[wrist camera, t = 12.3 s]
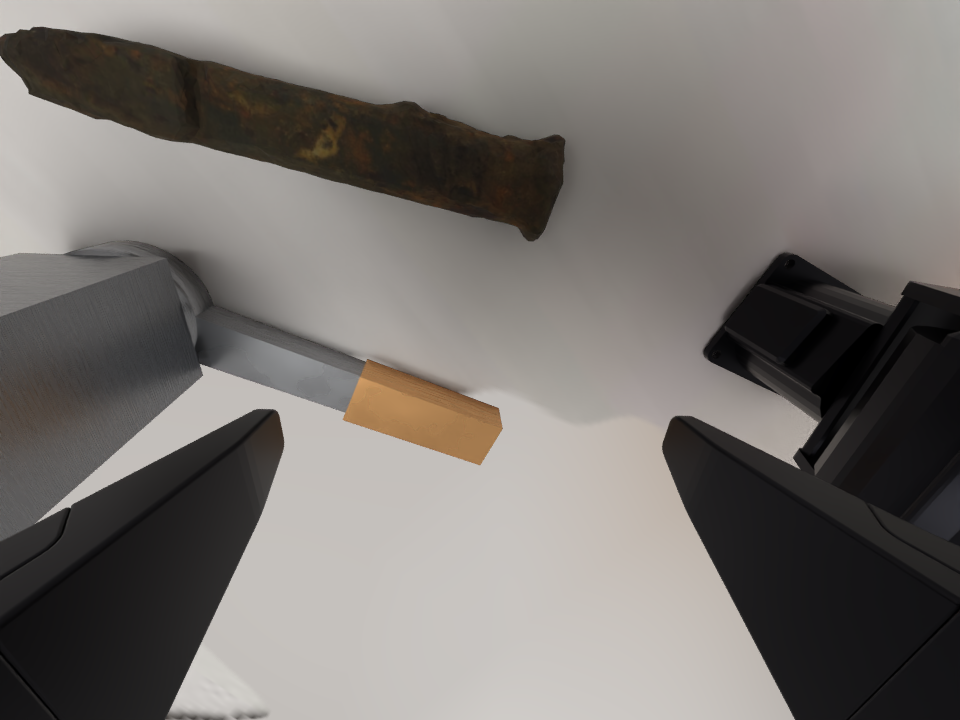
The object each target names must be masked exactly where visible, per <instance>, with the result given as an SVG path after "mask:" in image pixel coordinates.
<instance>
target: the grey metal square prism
mask: <svg viewBox="0 0 960 720" xmlns="http://www.w3.org/2000/svg"><path fill="white" fill-rule="evenodd" d="M202 376H203V374H202V371H201V367H200V364H199V361H198V358H197V354H196V351H195V348H194V345H193V341H192V338H191V335H190V331H189V328H188V325H187V322H186V318H185V315H184V312H183V309H182V305H181V302H180V299H179V296H178V292H177V289H176V286H175V283H174V279H173V276H172V273H171V270H170V266H169V263H168V260H167V258H158V257H127V256H95V255H64V254H33V253H18V254H14V255H9V256H5V257H0V541H2V540H4V539H6V538H8V537H10V536H12V535H14V534H16V533H18V532H20V531H22V530H24V529H26V528H28V527H30V526H32V525H34V524H35V523H36V522H37V521H38V520H39V519H40V518H42V517H43V516H44V515H45V514H46V513H47V512H48V511H50V510H51V509H52V508H53V507H54V506H55V505H56V504H58V503H59V502H60V501H61V500H62V499H63V498H64V497H65V496H67V495H68V494H69V493H70V492H71V491H72V490H73V489H75V488H76V487H77V486H78V485H79V484H80V483H81V482H82V481H84V480H85V479H86V478H87V477H88V476H89V475H90V474H92V473H93V472H94V471H95V470H96V469H97V468H98V467H100V466H101V465H102V464H103V463H104V462H105V461H106V460H107V459H109V458H110V457H111V456H112V455H113V454H114V453H115V452H117V451H118V450H119V449H120V448H121V447H122V446H123V445H124V444H126V443H127V442H128V441H129V440H130V439H131V438H132V437H134V436H135V435H136V434H137V433H138V432H139V431H140V430H142V429H143V428H144V427H145V426H146V425H147V424H148V423H149V422H151V420H153V419H154V418H155V417H156V416H157V415H159V414H160V413H161V412H162V411H163V410H164V409H165V408H167V407H168V406H169V405H170V404H171V403H172V402H173V401H174V400H175V399H177V398H178V397H179V396H180V395H181V394H182V393H183V392H185V391H186V390H187V389H188V388H189V387H190V386H191V385H193V384H194V383H195V382H196V381H197V380H198V379H199V378H201V377H202Z"/></svg>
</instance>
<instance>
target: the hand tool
mask: <svg viewBox="0 0 960 720" xmlns="http://www.w3.org/2000/svg"><path fill="white" fill-rule="evenodd" d="M0 56H1V58H2V59H3V60H4V62H5V63H6V64H7V65H8V66H9V67H10V68H11V69H12V70H14V71H15V72H16V73H17V74H18V75H19V76H20V77H21V78H22V80H23V82H24V83H25V85H26V87H27V88H28V91H29V94H30V95H33V96H35V97H38V98H41V99H44V100H47V101H50V102H52V103H55V104H58V105H60V106H63V107H66V108H69V109H72V110H75V111H77V112H80V113H82V114H84V115H87V116H89V117H92V118H94V119H106V120H111V121H114V122H116V123H119V124H121V125H124V126H126V127H131V128H134V129H136V130H138V131H141V132H143V133H145V134H148V135H150V136H153V137H155V138H160V139H164V140H168V141H174V142H186V143H195V144H198V145H202V146H205V147H209V148H211V149H214V150H218V151H222V152H226V153H231V154H235V155H239V156H243V157H248V158H251V159H255V160H259V161H263V162H269V163H273V164H276V165H279V166H282V167H285V168H288V169H292V170H296V171H300V172H305V173H308V174H311V175H314V176H317V177H320V178H324V179H327V180H331V181H335V182H340V183H345V184H349V185H352V186H356V187H359V188H362V189H366V190H371V191H375V192H379V193H383V194H388V195H391V196H395V197H399V198H403V199H406V200H410V201H414V202H417V203H421V204H424V205H429V206H433V207H438V208H442V209H446V210H450V211H453V212H457V213H461V214H464V215H468V216H471V217H480V218H485V219H489V220H493V221H498V222H503V223H507V224H511V225H514V226H516V227H518V228H519V230H520V232H521V233H522V235H523V237H524V238H525V239H526V240H528V241H534V240H536V239H538V238H539V236H540V235H541V234H542V233H543V231H544V230H545V227H546V224H547V222H548V219H549V217H550V214H551V211H552V209H553V206H554V204H555V201H556V198H557V196H558V194H559V191H560V189H561V187H562V185H563V164H564V161H565V160H564V146H565V141H566V140H565V139H564V138H562V137H561V136H560V135H552V136H549V137H546V138H543V139H540V140H533V141H531V140H522V139H520V138H517V137H515V136H511V135H507V136H504V137H499V136H496V135H491V134H489V133H486V132H483V131H479V130H476V129H475V128H472V127H470V126H468V125H466V124H463V123H461V122H458V121H454V120H449V119H447V118H446V116H443V115H440V114H434V113H431V112H430V113H429V112H427V111H425V110H424V109H422V108H421V107H420V106H418V105H417V104H416V103H415V102H407V101H403V102H398V103H394V104H384V105H375V104H371V103H366V102H362V101H359V100H356V99H352V98H348V97H345V96H340V95H335V94H332V93H328V92H325V91H321V90H317V89H312V88H307V87H303V86H298V85H294V84H290V83H286V82H283V81H280V80H277V79H271V78H266V77H263V76H259V75H254V74H250V73H247V72H243V71H240V70H237V69H235V68H232V67H228V66H225V65H222V64H218V63H215V62H211V61H198V60H193V59H190V58H187V57H184V56H181V55H178V54H176V53H173V52H170V51H167V50H164V49H161V48H158V47H155V46H152V45H147V44H142V43H139V42H132V41H128V40H124V39H120V38H116V37H111V36H106V35H101V34H96V33H81V32H75V31H69V30H63V29H52V28H46V27H33V28H32V29H30V30H21V29H20V30H19V31H18V32H16V33H9V34H4V35H3V36H2V37H0Z"/></svg>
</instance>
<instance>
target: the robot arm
mask: <svg viewBox="0 0 960 720" xmlns="http://www.w3.org/2000/svg"><path fill="white" fill-rule="evenodd" d="M788 260H789V263H788V265H786V266H785V263H786V262H787V261H788ZM901 294H902V295H904V296H903V297H902V299H901V300H900V302H899V303H898V305H897V306H896V307H894V306H891V305H888V304H885V303H882V302H879V301H876V300H874V299H871V298H868V297H865V296H863V295H861V294H860V293H858V292H856V291H855V290H853V289H851V288H850V287H848V286H846V285H845V284H843V283H842V282H840V281H838V280H837V279H835V278H833V277H832V276H830V275H829V274H827V273H825V272H824V271H822V270H820V269H819V268H817V267H815V266H814V265H812V264H811V263H809V262H807V261H806V260H804V259H802V258H801V257H799V256H798V255H795V254H791V253H783V254H782V255H780V256H779V257H778V258H777V259H776V260H775V261H774V263H773V264H772V265H771V266H770V268H769V269H768V270H767V271H766V273H765V274H764V275H763V276H762V278H761V279H760V280H759V282H758V283H757V284H756V285H755V287H754V288H753V289H752V290H751V292H750V293H749V294H748V295H747V297H746V298H745V299H744V300H743V302H742V303H741V304H740V306H739V307H738V308H737V309H736V311H735V312H734V313H733V314H732V316H731V317H730V318H729V319H728V321H727V322H726V323H725V324H724V326H723V327H722V328H721V329H720V331H719V332H718V333H717V335H716V336H715V337H714V338H713V340H712V341H711V342H710V343H709V345H708V346H707V347H706V349H705V350H704V357H705V358H706V359H708V360H709V361H710V362H712V363H714V364H716V365H718V366H720V367H722V368H724V369H727V370H729V371H731V372H733V373H735V374H737V375H739V376H741V377H743V378H745V379H747V380H750V381H752V382H754V383H756V384H758V385H760V386H762V387H764V388H766V389H768V390H770V391H773V392H775V393H777V394H779V395H781V396H783V397H784V398H785V399H787V400H788V401H790V402H791V403H792V404H794V405H795V406H797V407H798V408H799V409H801V410H802V411H803V412H805V413H806V414H808V415H809V416H810V417H812V418H813V419H815V420H816V421H817V422H819V424H818V425H817V427H816V428H815V430H814V431H813V433H812V434H811V436H810V437H809V439H808V440H807V442H806V443H805V445H804V446H803V448H799V449H798V451H797V452H796V454H795V455H794V457H793V459H794V460H795V462H796V463H797V465H798V466H799V468H800V469H801V470H800V469H798V468H796V467H794V466H792V465H790V464H788V463H786V462H784V461H782V460H780V459H778V458H776V457H774V456H772V455H770V454H768V453H766V452H764V451H762V450H760V449H758V448H756V447H753V446H751V445H749V444H747V443H745V442H743V441H741V440H739V439H737V438H735V437H733V436H731V435H729V434H727V433H725V432H723V431H721V430H719V429H717V428H715V427H713V426H711V425H709V424H707V423H705V422H703V421H701V420H699V419H696V418H694V417H692V416H675V417H673V418H672V419H671V421H670V423H669V426H668V429H667V432H666V435H665V438H664V441H663V446H662V450H663V454H664V457H665V460H666V462H667V465H668V467H669V470H670V472H671V475H672V477H673V480H674V482H675V485H676V487H677V490H678V492H679V495H680V497H681V500H682V502H683V504H684V507H685V509H686V511H687V513H688V515H689V517H690V519H691V521H692V523H693V525H694V527H695V529H696V531H697V533H698V535H699V536H700V539H701V541H702V542H703V544H704V546H705V548H706V550H707V552H708V554H709V556H710V558H711V560H712V562H713V563H714V565H715V567H716V569H717V571H718V573H719V575H720V577H721V579H722V581H723V582H724V585H725V586H726V588H727V590H728V592H729V594H730V596H731V598H732V600H733V602H734V604H735V606H736V607H737V609H738V611H739V613H740V615H741V617H742V619H743V621H744V623H745V625H746V627H747V629H748V631H749V632H750V634H751V636H752V638H753V640H754V642H755V644H756V646H757V648H758V650H759V651H760V653H761V655H762V657H763V659H764V661H765V663H766V665H767V667H768V669H769V671H770V673H771V675H772V676H773V678H774V680H775V682H776V684H777V686H778V688H779V690H780V692H781V694H782V696H783V698H784V699H785V701H786V703H787V705H788V707H789V709H790V711H791V713H792V715H793V717H794V719H795V720H960V289H955V288H949V287H943V286H937V285H931V284H925V283H920V282H914V281H909V283H908V284H907V286H906V287H905V289H904V290H903V292H902V293H901ZM715 351H717V352H716V353H715V354H714V355H712V354H713V353H714V352H715ZM283 449H284V437H283V432H282V427H281V422H280V417H279V414H278V412H277V411H276V410H273V409H256V410H253V411H252V412H250V413H248V414H246V415H244V416H242V417H240V418H238V419H236V420H234V421H232V422H231V423H229V424H227V425H225V426H223V427H221V428H219V429H217V430H215V431H213V432H211V433H209V434H207V435H205V436H204V437H201V438H200V439H198V440H196V441H194V442H192V443H190V444H188V445H186V446H184V447H182V448H180V449H178V450H177V451H175V452H173V453H171V454H169V455H167V456H165V457H163V458H161V459H159V460H157V461H155V462H153V463H151V464H150V465H148V466H146V467H144V468H142V469H140V470H138V471H136V472H134V473H132V474H131V475H128V476H126V477H124V478H123V479H121V480H119V481H117V482H115V483H113V484H111V485H109V486H108V487H105V488H103V489H101V490H99V491H98V492H96V493H94V494H92V495H90V496H88V497H86V498H84V499H82V500H80V501H78V502H77V503H74V504H73V505H72V506H71V508H65V509H63V510H61V511H59V512H57V513H55V514H53V515H51V516H49V517H47V518H46V519H44V520H42V521H40V522H38V523H36V524H34V525H32V526H30V527H28V528H26V529H24V530H22V531H20V532H18V533H16V534H14V535H12V536H10V537H8V538H6V539H4V540H2V541H0V720H165V719H166V716H167V714H168V712H169V710H170V708H171V706H172V704H173V702H174V699H175V697H176V695H177V693H178V691H179V689H180V687H181V685H182V682H183V680H184V678H185V676H186V674H187V672H188V670H189V668H190V665H191V663H192V661H193V659H194V657H195V655H196V653H197V651H198V648H199V646H200V644H201V642H202V640H203V638H204V635H205V634H206V631H207V629H208V627H209V625H210V623H211V621H212V619H213V617H214V614H215V612H216V610H217V608H218V606H219V603H220V602H221V600H222V597H223V595H224V593H225V591H226V589H227V587H228V585H229V583H230V580H231V578H232V576H233V574H234V572H235V570H236V568H237V566H238V563H239V561H240V559H241V557H242V555H243V553H244V551H245V548H246V546H247V544H248V542H249V540H250V538H251V536H252V533H253V532H254V529H255V527H256V525H257V523H258V521H259V518H260V516H261V514H262V511H263V509H264V506H265V503H266V500H267V497H268V494H269V491H270V488H271V485H272V482H273V479H274V476H275V473H276V470H277V467H278V464H279V461H280V458H281V456H282V453H283Z"/></svg>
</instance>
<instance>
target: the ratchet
mask: <svg viewBox="0 0 960 720" xmlns="http://www.w3.org/2000/svg"><path fill="white" fill-rule="evenodd" d="M64 255H95V256H127V257H158V258H167V260H168V263H169V266H170V270H171V273H172V276H173V279H174V283H175V286H176V289H177V292H178V296H179V299H180V302H181V305H182V309H183V312H184V315H185V318H186V322H187V325H188V328H189V331H190V335H191V338H192V341H193V345H194V348H195V351H196V354H197V358H198V361H199V364H202V365H205V366H208V367H211V368H214V369H217V370H220V371H223V372H226V373H229V374H232V375H235V376H238V377H241V378H244V379H247V380H250V381H253V382H256V383H259V384H262V385H265V386H268V387H271V388H274V389H277V390H280V391H283V392H286V393H289V394H292V395H295V396H298V397H301V398H304V399H307V400H309V401H312V402H316V403H319V404H322V405H324V406H327V407H331V408H333V409H336V410H339V411H342V412H345V415H344V418H343V420H344V421H348V422H351V423H353V424H356V425H360V426H363V427H366V428H369V429H372V430H375V431H378V432H381V433H384V434H387V435H390V436H393V437H396V438H399V439H402V440H405V441H408V442H411V443H414V444H417V445H420V446H423V447H426V448H429V449H432V450H435V451H439V452H441V453H445V454H447V455H451V456H453V457H457V458H460V459H463V460H466V461H469V462H472V463H475V464H478V465H481V463H482V461H483V460H484V458H485V457H486V455H487V453H488V452H489V450H490V448H491V447H492V445H493V444H494V442H495V440H496V439H497V437H498V435H499V434H500V432H501V431H502V429H503V428H502V423H501V419H500V413H499V408H497V407H494V406H492V405H489V404H486V403H484V402H481V401H478V400H476V399H473V398H470V397H468V396H465V395H462V394H459V393H457V392H454V391H451V390H449V389H446V388H443V387H441V386H438V385H435V384H433V383H430V382H427V381H425V380H422V379H419V378H417V377H414V376H411V375H409V374H406V373H403V372H401V371H398V370H395V369H393V368H390V367H387V366H385V365H382V364H380V363H377V362H374V361H372V360H369V359H367V361H366V362H365V361H362V360H360V359H357V358H354V357H351V356H349V355H346V354H343V353H340V352H338V351H335V350H332V349H330V348H327V347H324V346H322V345H319V344H316V343H314V342H311V341H308V340H306V339H303V338H300V337H298V336H295V335H292V334H290V333H287V332H284V331H281V330H279V329H276V328H273V327H271V326H268V325H265V324H263V323H260V322H257V321H255V320H252V319H249V318H247V317H244V316H241V315H239V314H236V313H233V312H231V311H228V310H225V309H222V308H220V307H217V306H214V305H213V303H212V300H211V297H210V295H209V293H208V291H207V289H206V288H205V286H204V284H203V283H202V282H201V280H200V279H199V278H198V276H197V275H196V274H195V273H194V272H193V271H192V270H191V269H190V268H189V267H188V266H187V265H185V264H184V263H183V262H182V261H180V260H179V259H177V258H176V257H175V256H173V255H171V254H169V253H168V252H166V251H164V250H162V249H159V248H157V247H155V246H152V245H149V244H145V243H141V242H136V241H114V242H108V243H104V244H100V245H96V246H92V247H88V248H84V249H80V250H76V251H72V252H69V253H66V254H64Z"/></svg>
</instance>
